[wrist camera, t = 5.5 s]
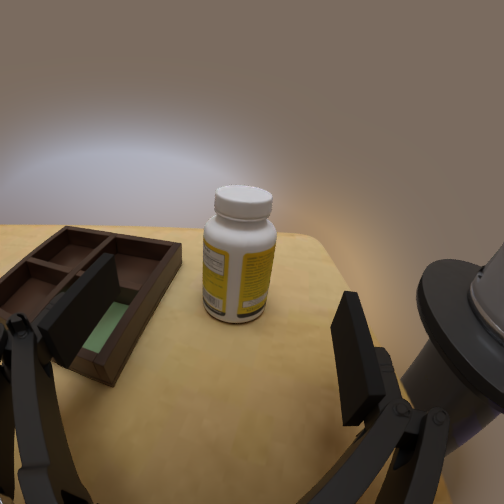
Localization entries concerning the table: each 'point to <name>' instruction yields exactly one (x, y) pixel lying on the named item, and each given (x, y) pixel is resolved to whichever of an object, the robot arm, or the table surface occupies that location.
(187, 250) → the table surface
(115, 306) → the compartment tray
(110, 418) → the table surface
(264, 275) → the supplement bottle
